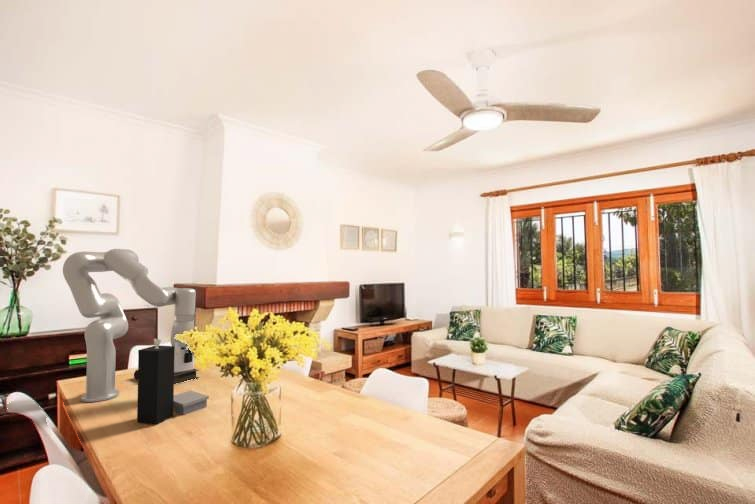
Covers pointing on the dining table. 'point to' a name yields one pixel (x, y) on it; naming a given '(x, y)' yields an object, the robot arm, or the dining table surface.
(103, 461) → the dining table surface
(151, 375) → the tall black pillar
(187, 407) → the podium
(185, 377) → the diary
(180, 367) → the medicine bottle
